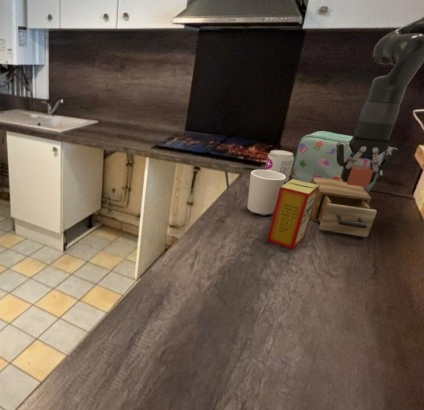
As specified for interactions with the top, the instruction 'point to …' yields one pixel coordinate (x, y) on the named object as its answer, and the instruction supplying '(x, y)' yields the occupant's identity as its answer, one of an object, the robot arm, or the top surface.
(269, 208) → the cup
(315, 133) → the lunch box
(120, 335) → the top surface
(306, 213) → the baking soda box
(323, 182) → the cabinet
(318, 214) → the drawer
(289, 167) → the supplement can
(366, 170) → the block
